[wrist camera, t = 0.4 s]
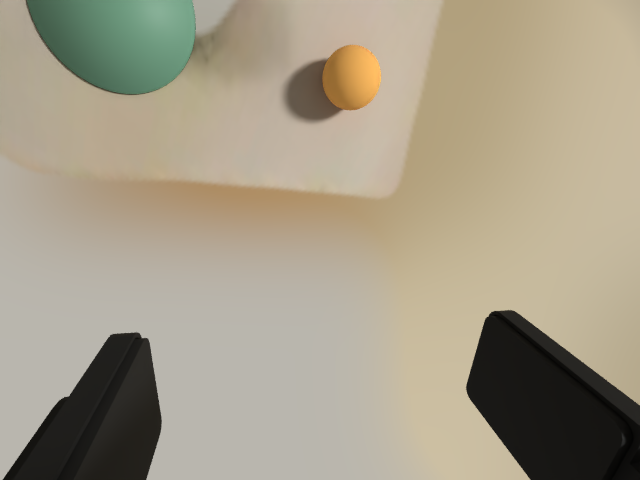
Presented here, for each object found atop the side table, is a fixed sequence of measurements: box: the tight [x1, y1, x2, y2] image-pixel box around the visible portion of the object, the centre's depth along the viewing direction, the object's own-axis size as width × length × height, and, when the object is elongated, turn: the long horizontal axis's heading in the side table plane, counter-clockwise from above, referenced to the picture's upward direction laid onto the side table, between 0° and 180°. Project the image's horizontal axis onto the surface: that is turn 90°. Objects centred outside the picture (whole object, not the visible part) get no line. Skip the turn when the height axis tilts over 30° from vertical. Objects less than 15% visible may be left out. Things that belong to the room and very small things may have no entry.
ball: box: [322, 45, 381, 110], centre depth 30 cm, size 6×6×6 cm
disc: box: [27, 0, 196, 94], centre depth 27 cm, size 13×13×1 cm
